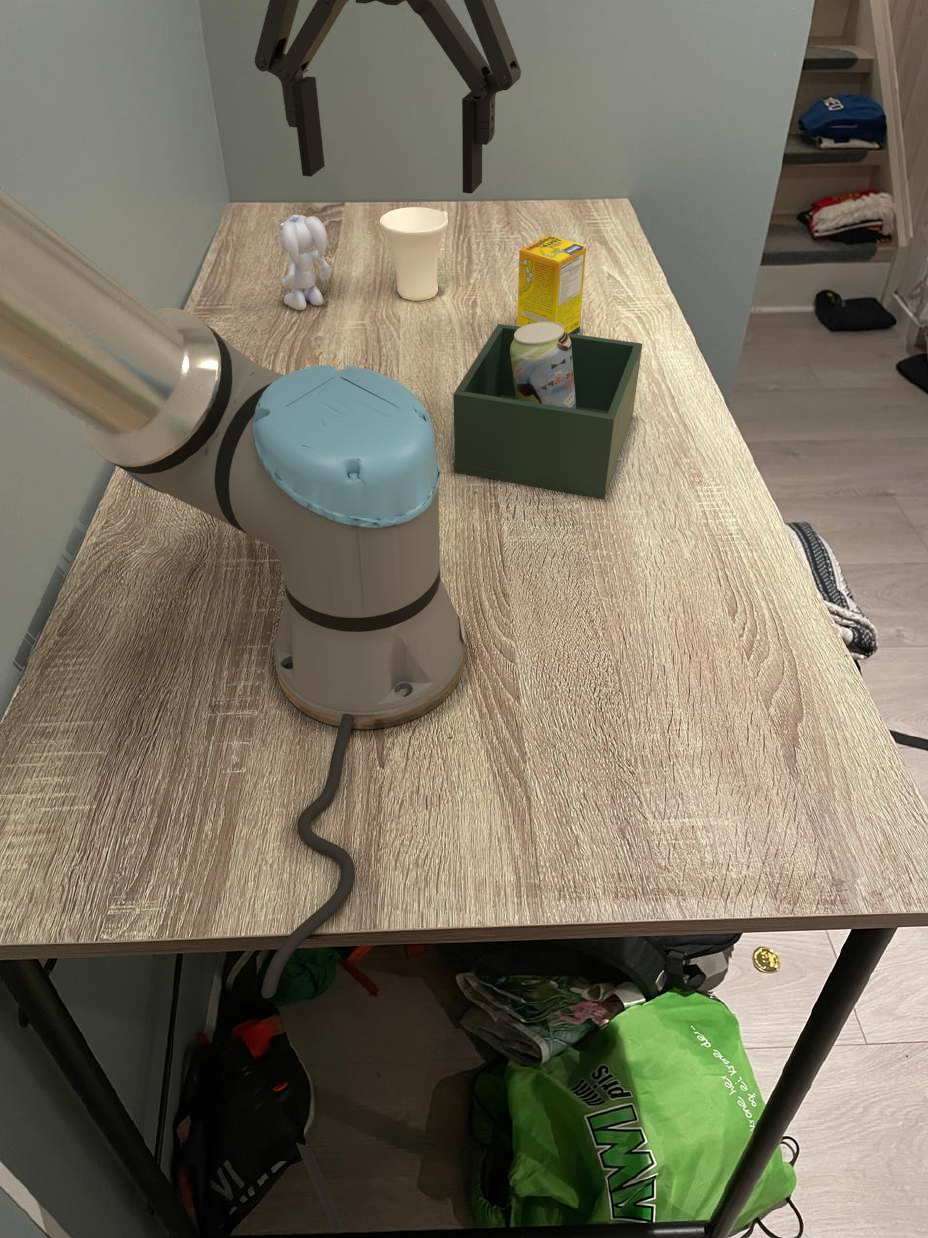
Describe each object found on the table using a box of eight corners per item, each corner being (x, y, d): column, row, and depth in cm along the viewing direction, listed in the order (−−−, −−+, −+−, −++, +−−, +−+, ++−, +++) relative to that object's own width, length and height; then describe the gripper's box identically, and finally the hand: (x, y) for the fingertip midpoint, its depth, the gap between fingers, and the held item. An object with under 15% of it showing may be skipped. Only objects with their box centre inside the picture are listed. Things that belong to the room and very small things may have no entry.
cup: (461, 298, 123) (460, 222, 116) (396, 310, 121) (391, 233, 114) (438, 273, 129) (436, 200, 122) (375, 284, 127) (370, 209, 120)
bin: (604, 499, 90) (614, 419, 84) (454, 472, 93) (453, 393, 87) (632, 419, 101) (642, 343, 95) (496, 397, 104) (498, 323, 98)
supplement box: (542, 318, 119) (547, 233, 111) (580, 331, 116) (588, 245, 108) (514, 335, 115) (517, 248, 108) (553, 349, 113) (559, 261, 105)
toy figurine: (319, 289, 126) (308, 198, 117) (340, 306, 122) (331, 213, 113) (273, 301, 123) (259, 209, 115) (293, 318, 119) (280, 224, 111)
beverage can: (571, 457, 94) (581, 348, 85) (501, 448, 95) (504, 340, 87) (580, 425, 98) (590, 319, 90) (513, 417, 99) (517, 311, 91)
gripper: (574, -173, 58) (554, 178, 73) (225, -177, 64) (271, 150, 78) (546, -165, 53) (530, 211, 68) (169, -170, 59) (229, 178, 73)
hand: (391, 179), depth 73 cm, fingers open, 13 cm apart
